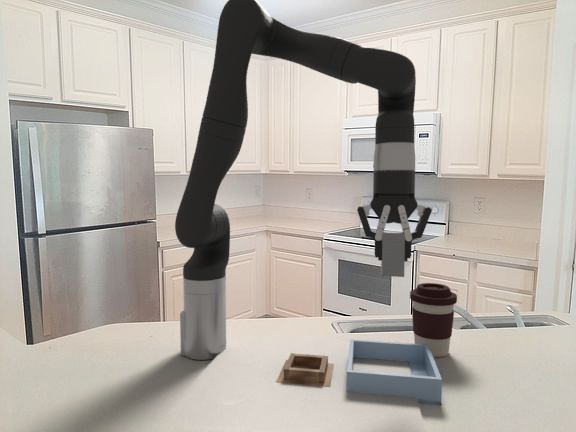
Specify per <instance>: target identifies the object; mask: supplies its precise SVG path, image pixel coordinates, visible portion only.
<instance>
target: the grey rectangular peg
mask: <svg viewBox="0 0 576 432" xmlns="http://www.w3.org/2000/svg"><path fill="white" fill-rule="evenodd" d="M381 240H382V261H380V262H381V263H380V273H381V277H391V278H393V277H396V278H400V277H401V278H405V261H404V260H405V233H404V232H403V230H397V231H396V230H384V232H383V233H382V238H381Z"/></svg>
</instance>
